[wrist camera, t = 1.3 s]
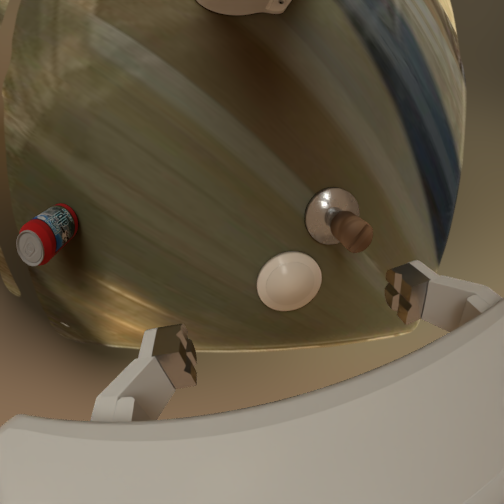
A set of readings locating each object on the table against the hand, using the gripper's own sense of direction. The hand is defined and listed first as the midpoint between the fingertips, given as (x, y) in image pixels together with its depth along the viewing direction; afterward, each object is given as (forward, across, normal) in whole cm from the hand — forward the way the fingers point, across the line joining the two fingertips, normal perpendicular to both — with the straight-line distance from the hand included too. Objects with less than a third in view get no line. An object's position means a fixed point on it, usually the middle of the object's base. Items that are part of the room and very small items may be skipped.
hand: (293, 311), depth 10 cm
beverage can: (+34, +30, -1) cm, 46 cm away
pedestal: (+34, -16, +10) cm, 39 cm away
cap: (+29, -16, +10) cm, 35 cm away
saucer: (+34, -6, +21) cm, 41 cm away
